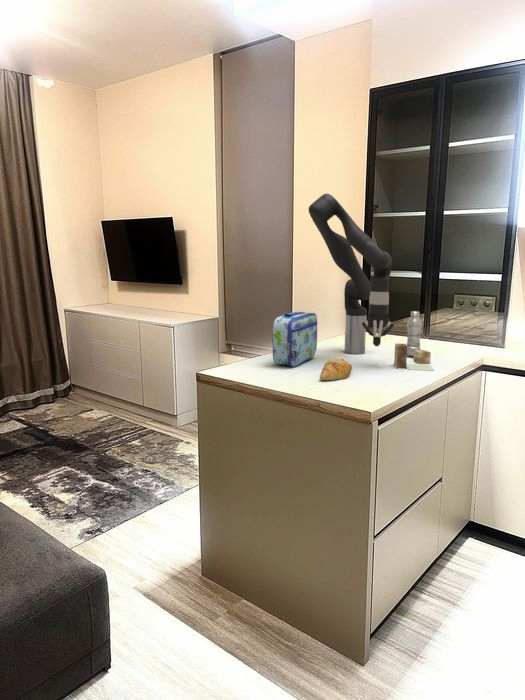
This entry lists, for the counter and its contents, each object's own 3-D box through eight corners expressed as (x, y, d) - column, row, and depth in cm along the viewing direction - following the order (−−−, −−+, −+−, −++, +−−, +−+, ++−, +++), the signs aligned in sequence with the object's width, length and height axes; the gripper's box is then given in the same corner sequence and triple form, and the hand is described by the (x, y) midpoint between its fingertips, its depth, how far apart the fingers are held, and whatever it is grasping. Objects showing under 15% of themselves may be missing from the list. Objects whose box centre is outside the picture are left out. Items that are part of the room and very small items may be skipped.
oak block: (418, 364, 215) (419, 352, 214) (413, 361, 220) (414, 350, 219) (429, 363, 215) (430, 352, 215) (424, 361, 220) (425, 349, 219)
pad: (407, 369, 204) (408, 369, 204) (404, 364, 214) (404, 363, 214) (434, 370, 203) (434, 370, 203) (429, 365, 212) (429, 364, 212)
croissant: (328, 392, 184) (338, 375, 180) (306, 376, 188) (315, 358, 184) (354, 379, 200) (364, 363, 197) (334, 364, 205) (343, 348, 201)
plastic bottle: (421, 356, 231) (424, 311, 227) (419, 358, 225) (421, 312, 221) (406, 354, 234) (409, 310, 230) (403, 357, 228) (406, 311, 224)
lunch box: (292, 369, 203) (293, 316, 199) (268, 366, 208) (269, 314, 204) (319, 358, 225) (321, 310, 221) (297, 355, 231) (298, 308, 227)
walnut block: (395, 368, 207) (396, 346, 205) (394, 365, 212) (395, 343, 211) (406, 368, 206) (407, 346, 204) (404, 365, 212) (405, 343, 210)
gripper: (362, 303, 203) (360, 347, 206) (397, 304, 201) (394, 348, 204) (361, 301, 210) (359, 343, 213) (395, 302, 208) (392, 345, 211)
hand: (376, 346), depth 209 cm, fingers closed
